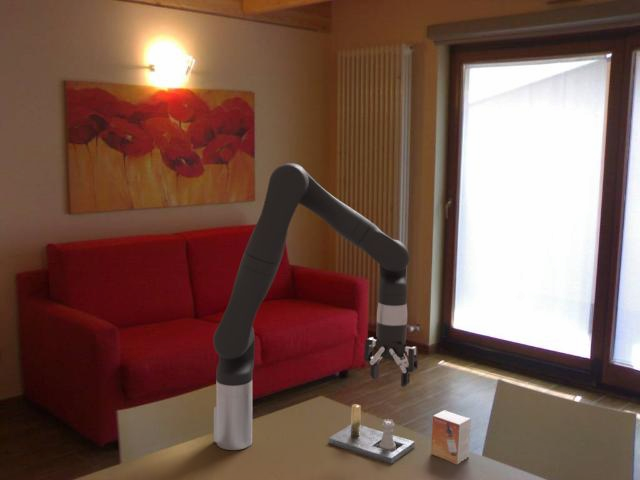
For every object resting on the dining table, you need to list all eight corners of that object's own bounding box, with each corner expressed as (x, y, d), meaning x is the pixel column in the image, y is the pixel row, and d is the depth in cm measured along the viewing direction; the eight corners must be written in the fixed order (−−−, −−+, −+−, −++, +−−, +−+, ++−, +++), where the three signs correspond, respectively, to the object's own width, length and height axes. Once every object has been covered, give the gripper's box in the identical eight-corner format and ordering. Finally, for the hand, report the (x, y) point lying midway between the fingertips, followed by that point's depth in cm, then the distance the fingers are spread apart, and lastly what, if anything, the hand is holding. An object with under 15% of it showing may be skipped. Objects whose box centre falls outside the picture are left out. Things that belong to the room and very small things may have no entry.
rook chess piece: (395, 455, 175) (396, 425, 173) (377, 453, 175) (378, 423, 174) (396, 447, 179) (397, 418, 178) (379, 445, 180) (380, 416, 179)
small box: (430, 454, 175) (431, 415, 174) (442, 447, 179) (444, 409, 178) (457, 465, 170) (459, 424, 168) (469, 457, 174) (471, 418, 172)
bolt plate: (328, 443, 181) (329, 408, 179) (353, 428, 190) (354, 395, 189) (391, 464, 170) (392, 427, 168) (414, 447, 179) (415, 412, 178)
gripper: (359, 318, 173) (358, 380, 176) (409, 328, 165) (407, 393, 168) (375, 312, 179) (373, 372, 182) (424, 322, 171) (421, 384, 174)
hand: (389, 382), depth 175 cm, fingers open, 8 cm apart
